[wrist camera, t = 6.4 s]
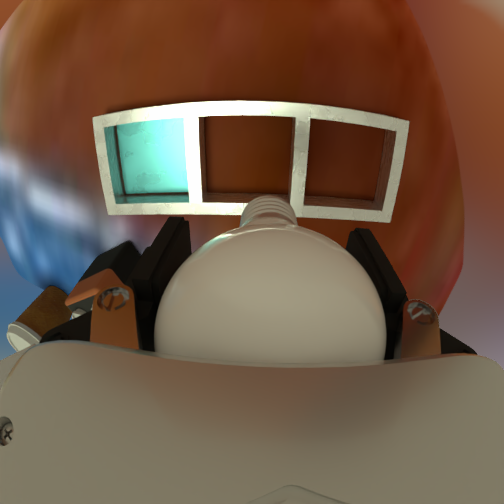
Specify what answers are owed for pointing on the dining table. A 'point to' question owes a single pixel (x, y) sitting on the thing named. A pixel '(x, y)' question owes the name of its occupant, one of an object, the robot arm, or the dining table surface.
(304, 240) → the lightbulb
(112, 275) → the battery
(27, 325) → the disposable coffee cup
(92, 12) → the dining table surface
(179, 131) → the rail
